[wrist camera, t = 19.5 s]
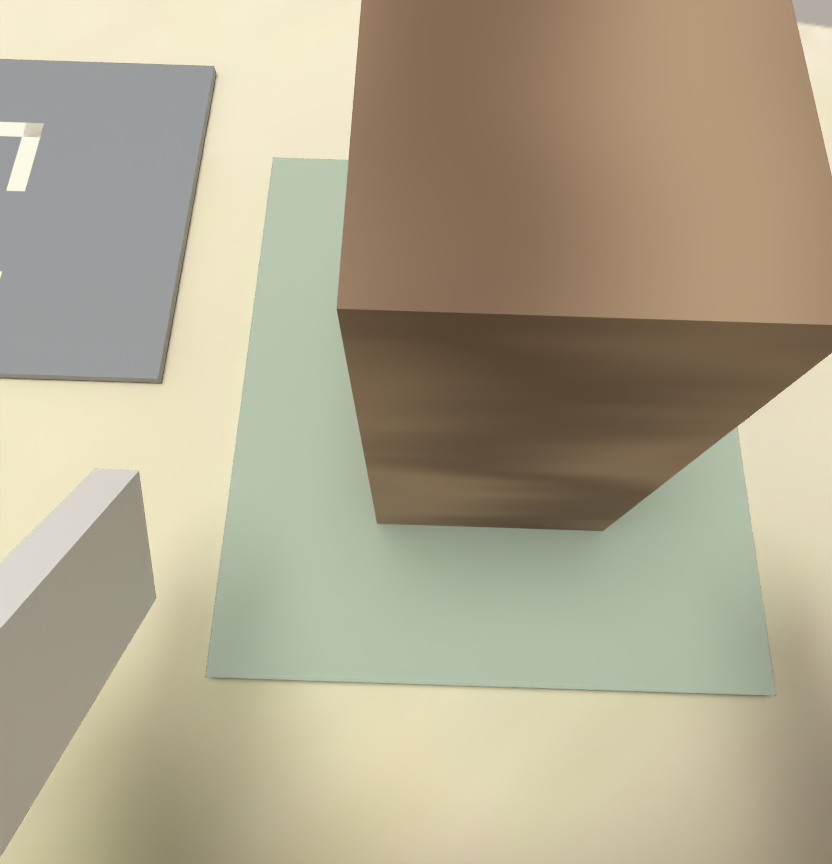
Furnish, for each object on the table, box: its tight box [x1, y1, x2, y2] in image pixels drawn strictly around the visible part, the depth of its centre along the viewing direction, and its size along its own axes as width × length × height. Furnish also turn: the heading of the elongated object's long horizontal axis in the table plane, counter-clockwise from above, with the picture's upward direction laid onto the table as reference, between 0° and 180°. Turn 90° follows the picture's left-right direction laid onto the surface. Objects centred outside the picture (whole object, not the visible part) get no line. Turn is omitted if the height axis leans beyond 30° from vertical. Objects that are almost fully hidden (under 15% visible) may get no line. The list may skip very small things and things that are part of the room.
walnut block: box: [336, 0, 832, 531], centre depth 14 cm, size 6×8×11 cm
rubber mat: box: [205, 158, 776, 696], centre depth 20 cm, size 14×16×1 cm
